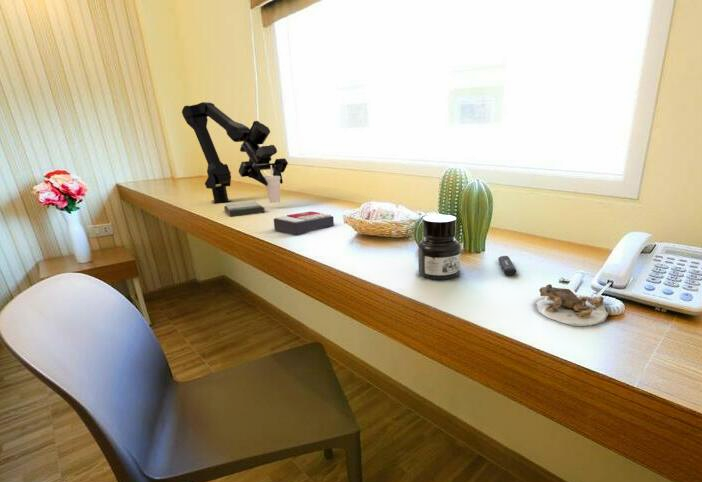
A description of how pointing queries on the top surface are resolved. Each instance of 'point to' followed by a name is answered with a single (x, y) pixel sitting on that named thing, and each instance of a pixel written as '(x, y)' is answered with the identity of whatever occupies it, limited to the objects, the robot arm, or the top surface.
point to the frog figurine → (571, 307)
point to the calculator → (302, 222)
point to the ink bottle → (439, 248)
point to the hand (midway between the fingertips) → (274, 184)
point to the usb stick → (507, 265)
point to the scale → (243, 208)
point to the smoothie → (273, 187)
